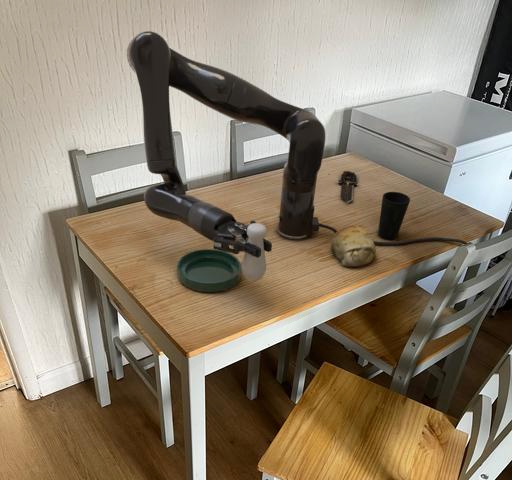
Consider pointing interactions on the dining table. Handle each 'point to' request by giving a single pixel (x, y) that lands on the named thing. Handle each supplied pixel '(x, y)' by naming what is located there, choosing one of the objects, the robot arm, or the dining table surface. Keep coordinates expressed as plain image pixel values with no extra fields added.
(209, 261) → the teal round dish
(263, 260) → the salt shaker
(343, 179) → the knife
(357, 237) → the pastry
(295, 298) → the dining table surface
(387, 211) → the cup
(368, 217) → the dining table surface
